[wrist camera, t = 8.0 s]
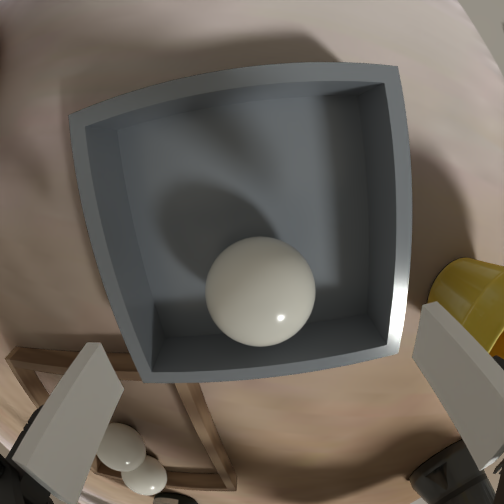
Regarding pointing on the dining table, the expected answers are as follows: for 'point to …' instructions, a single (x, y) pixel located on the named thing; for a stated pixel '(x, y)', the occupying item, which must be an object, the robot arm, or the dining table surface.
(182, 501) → the wine bottle
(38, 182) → the dining table surface
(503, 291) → the plant pot
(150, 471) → the pebble
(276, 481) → the dining table surface
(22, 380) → the tray
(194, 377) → the grey shallow box
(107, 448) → the pebble
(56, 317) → the dining table surface
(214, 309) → the off-white glossy ball
